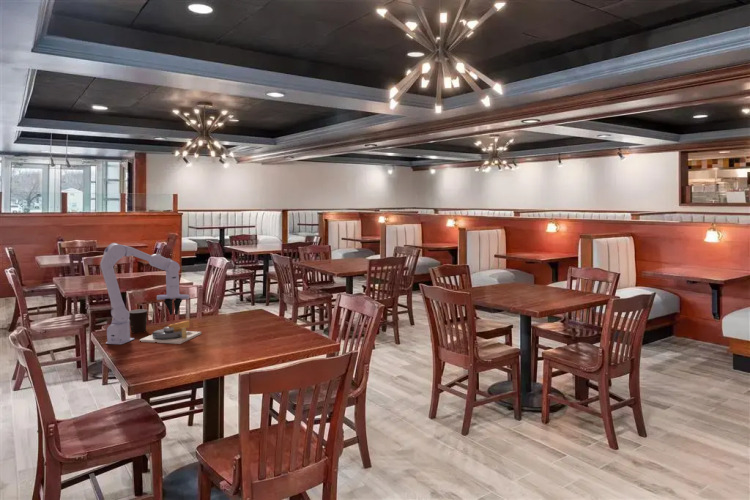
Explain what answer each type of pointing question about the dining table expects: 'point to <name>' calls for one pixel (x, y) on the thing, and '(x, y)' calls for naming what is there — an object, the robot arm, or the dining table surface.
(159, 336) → the dial
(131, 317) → the coffee mug
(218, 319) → the dining table surface
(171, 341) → the base board
